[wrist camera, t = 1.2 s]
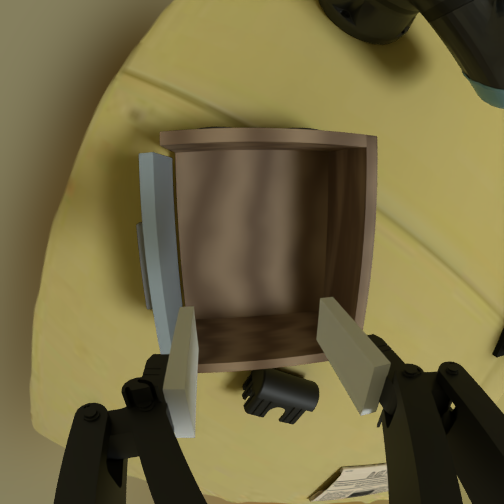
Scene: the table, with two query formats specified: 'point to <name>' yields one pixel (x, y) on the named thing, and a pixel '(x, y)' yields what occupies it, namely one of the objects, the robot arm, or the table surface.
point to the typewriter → (499, 346)
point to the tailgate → (159, 245)
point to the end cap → (279, 394)
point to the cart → (272, 238)
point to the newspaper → (356, 483)
